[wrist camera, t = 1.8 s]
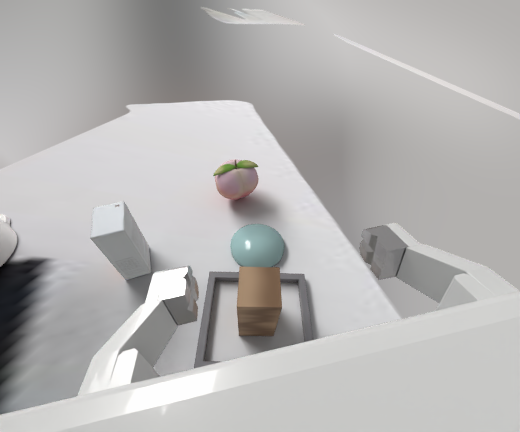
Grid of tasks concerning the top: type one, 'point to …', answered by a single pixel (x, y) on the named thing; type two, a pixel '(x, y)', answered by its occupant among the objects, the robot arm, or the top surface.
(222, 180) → the decorative fruit
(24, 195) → the top surface
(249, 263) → the teal round disc
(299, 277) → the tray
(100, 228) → the skincare box
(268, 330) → the walnut block
